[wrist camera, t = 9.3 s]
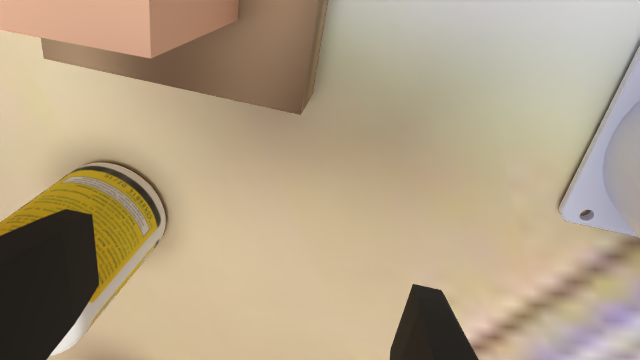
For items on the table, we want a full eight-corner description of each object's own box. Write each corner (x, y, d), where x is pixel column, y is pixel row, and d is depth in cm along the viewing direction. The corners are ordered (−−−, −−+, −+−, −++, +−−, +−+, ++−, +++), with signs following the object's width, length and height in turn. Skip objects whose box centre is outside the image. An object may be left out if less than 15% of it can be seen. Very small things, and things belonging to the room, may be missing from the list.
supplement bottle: (68, 143, 22) (-146, 276, 13) (175, 180, 22) (29, 335, 13) (67, 230, 25) (-111, 386, 16) (162, 262, 25) (34, 436, 16)
